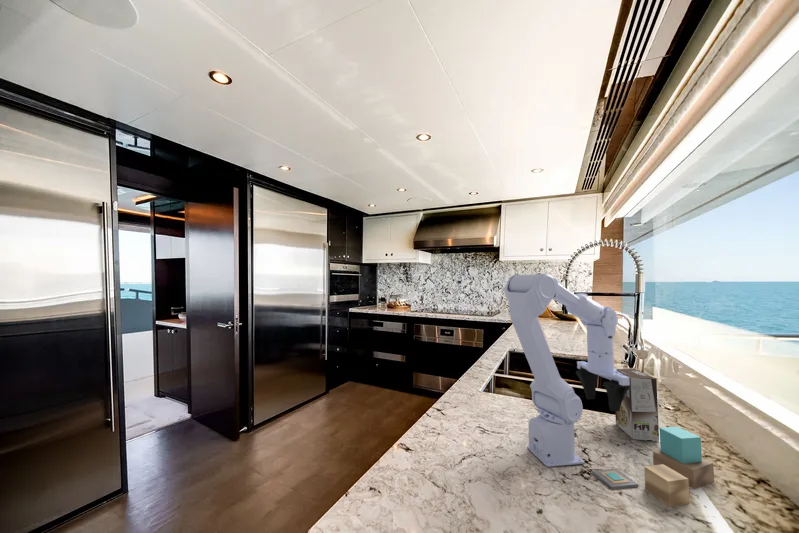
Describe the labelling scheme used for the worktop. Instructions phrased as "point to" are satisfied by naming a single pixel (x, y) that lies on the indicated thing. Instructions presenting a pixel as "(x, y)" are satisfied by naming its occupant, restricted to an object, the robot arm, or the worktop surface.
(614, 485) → the card
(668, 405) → the worktop surface
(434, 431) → the worktop surface
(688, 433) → the teal block
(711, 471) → the walnut block
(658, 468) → the oak block
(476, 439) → the worktop surface
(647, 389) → the coffee box
